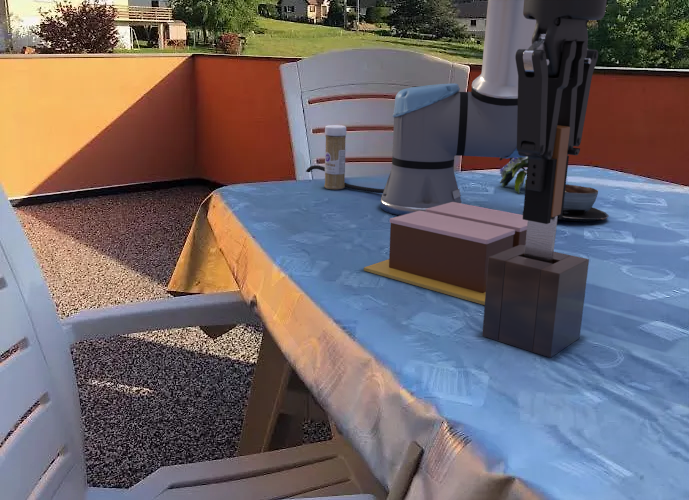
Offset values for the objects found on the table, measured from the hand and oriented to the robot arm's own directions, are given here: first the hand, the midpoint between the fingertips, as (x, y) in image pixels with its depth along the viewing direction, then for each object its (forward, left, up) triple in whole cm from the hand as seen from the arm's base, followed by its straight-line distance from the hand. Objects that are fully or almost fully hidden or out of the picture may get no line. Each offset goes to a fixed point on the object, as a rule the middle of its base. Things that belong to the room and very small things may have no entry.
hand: (542, 218), depth 73 cm
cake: (-18, +15, -13) cm, 27 cm away
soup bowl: (-23, +57, -13) cm, 63 cm away
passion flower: (-41, +75, -13) cm, 86 cm away
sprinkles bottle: (-70, +45, -13) cm, 84 cm away
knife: (0, 0, -11) cm, 11 cm away
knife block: (0, 0, -13) cm, 13 cm away
